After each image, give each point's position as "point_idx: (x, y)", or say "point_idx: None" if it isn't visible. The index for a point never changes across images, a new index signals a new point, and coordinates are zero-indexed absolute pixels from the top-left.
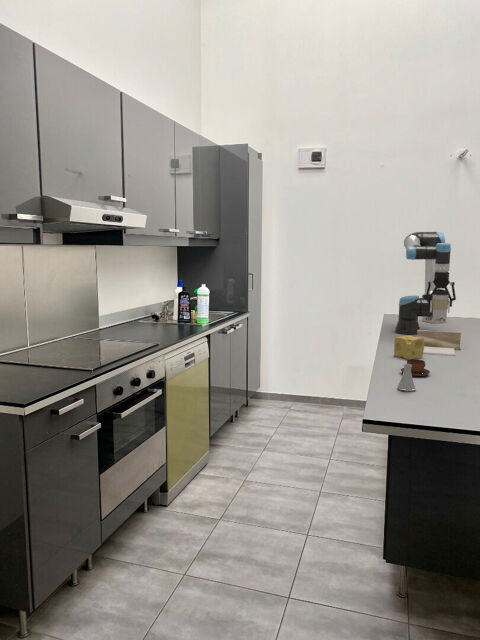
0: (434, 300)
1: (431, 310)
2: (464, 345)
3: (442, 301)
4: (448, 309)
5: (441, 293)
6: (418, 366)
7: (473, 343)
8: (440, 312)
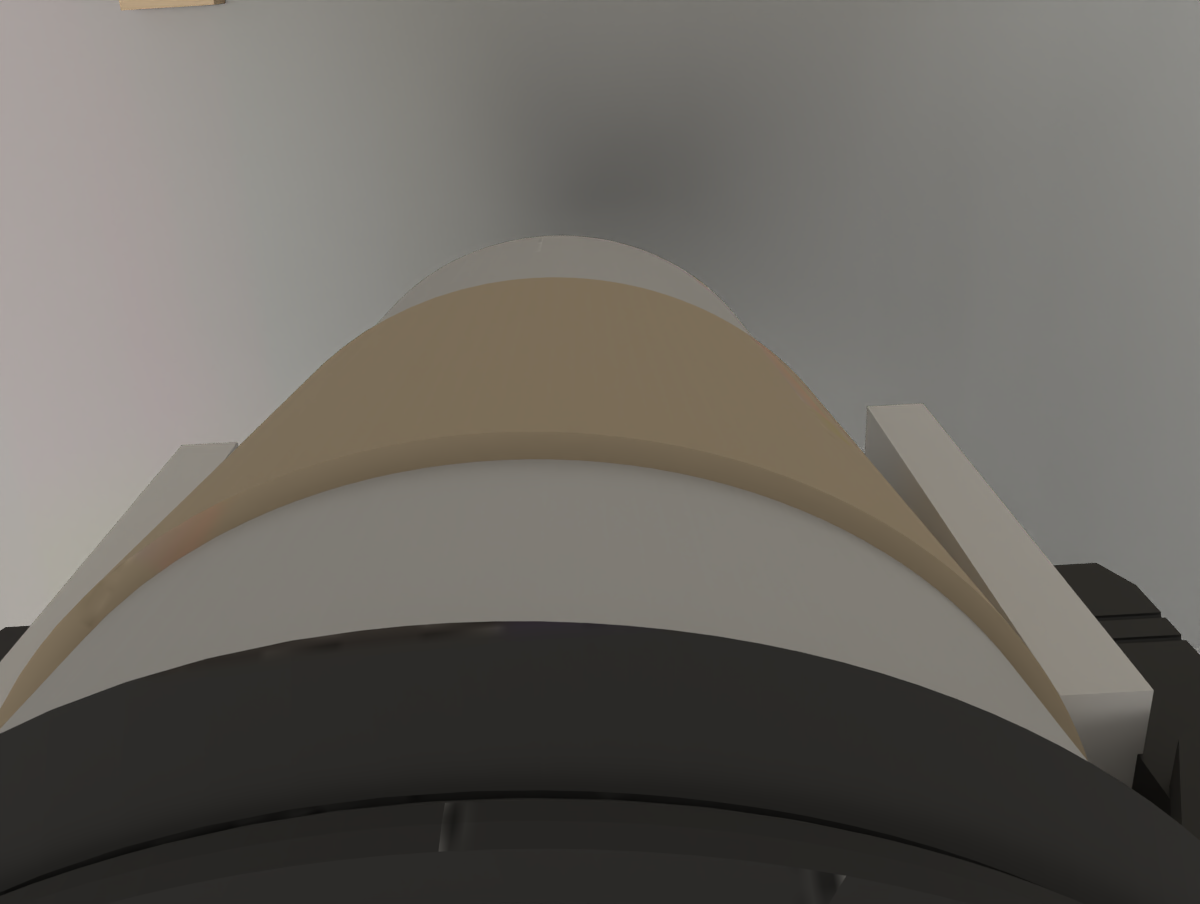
0: (933, 545)
1: (888, 433)
2: (105, 326)
3: (345, 420)
4: (171, 510)
5: (310, 854)
6: None
7: (8, 566)
8: (504, 276)
